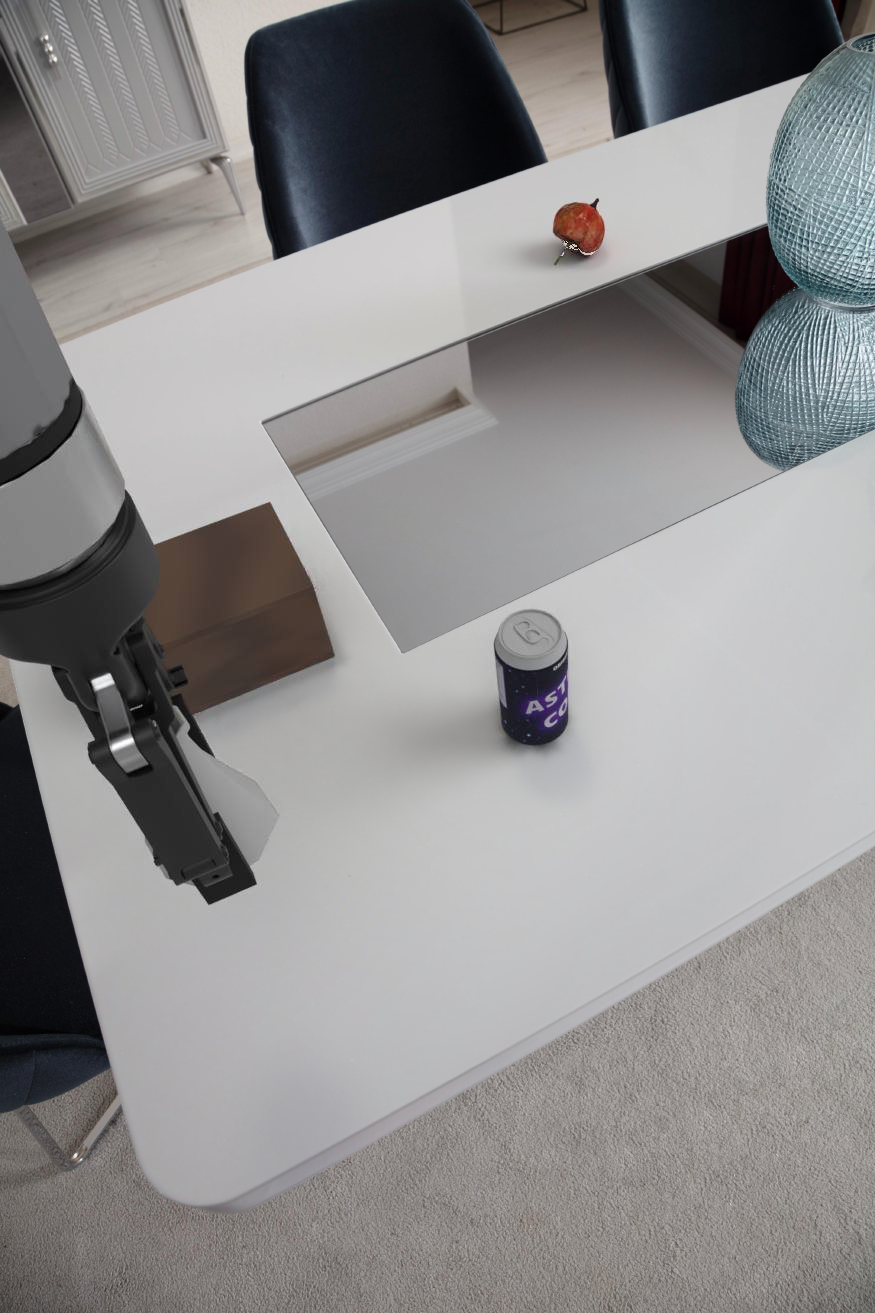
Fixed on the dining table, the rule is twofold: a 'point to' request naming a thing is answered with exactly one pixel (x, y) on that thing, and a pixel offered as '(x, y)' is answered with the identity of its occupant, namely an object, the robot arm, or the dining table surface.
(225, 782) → the flask
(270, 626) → the cabinet
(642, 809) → the dining table surface
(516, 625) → the beverage can
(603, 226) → the pomegranate
